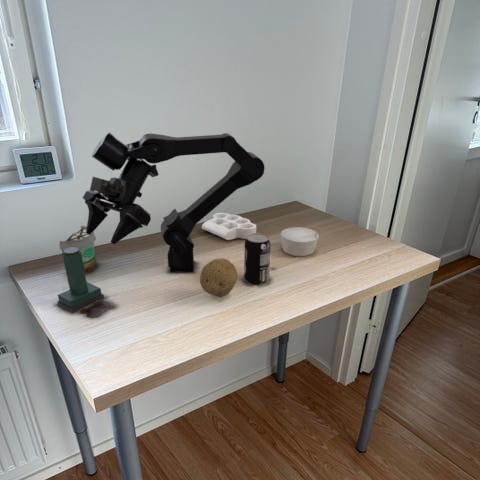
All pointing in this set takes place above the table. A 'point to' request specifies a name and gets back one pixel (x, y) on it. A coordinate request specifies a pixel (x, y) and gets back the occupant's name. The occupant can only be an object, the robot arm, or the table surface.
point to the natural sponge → (218, 277)
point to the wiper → (77, 283)
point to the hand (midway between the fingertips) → (99, 238)
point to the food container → (82, 247)
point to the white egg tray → (229, 226)
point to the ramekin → (299, 241)
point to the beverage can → (257, 258)
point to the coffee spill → (96, 309)
